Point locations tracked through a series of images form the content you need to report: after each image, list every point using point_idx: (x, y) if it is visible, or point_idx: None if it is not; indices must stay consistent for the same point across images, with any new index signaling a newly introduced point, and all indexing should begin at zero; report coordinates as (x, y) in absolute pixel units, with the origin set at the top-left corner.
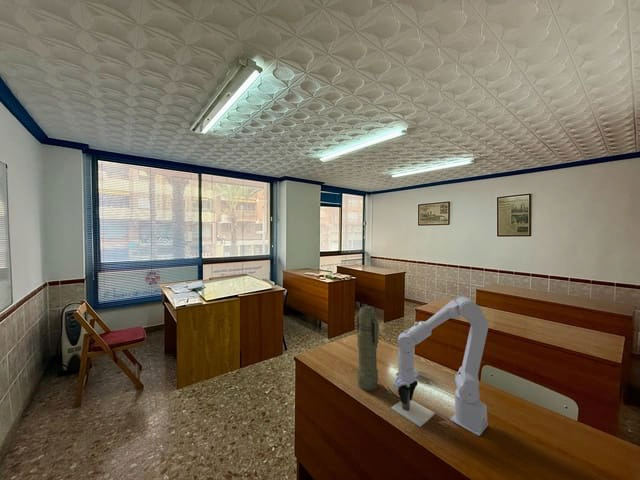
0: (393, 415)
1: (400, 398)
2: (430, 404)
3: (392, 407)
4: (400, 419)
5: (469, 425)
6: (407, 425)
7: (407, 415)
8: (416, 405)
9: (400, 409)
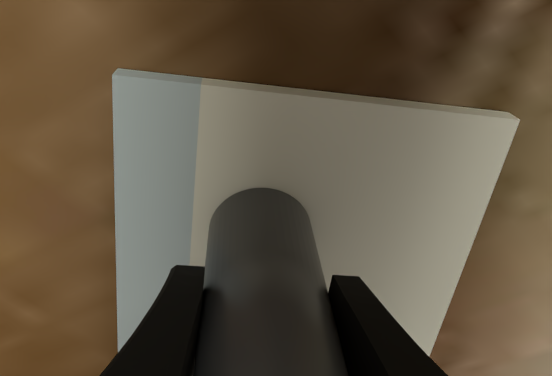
0: (24, 160)
1: (157, 305)
2: (536, 344)
3: (124, 91)
4: (42, 251)
5: None
6: (30, 334)
7: (147, 296)
8: (405, 289)
9: (179, 195)
